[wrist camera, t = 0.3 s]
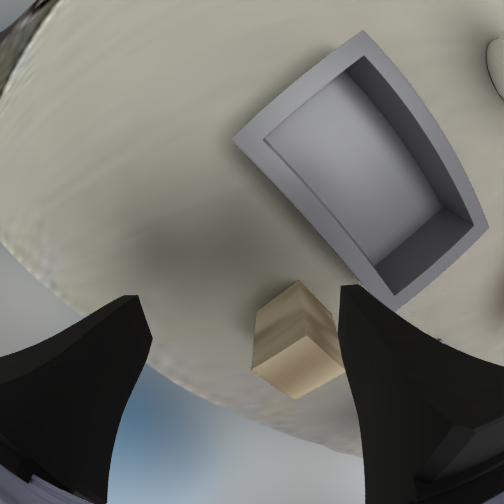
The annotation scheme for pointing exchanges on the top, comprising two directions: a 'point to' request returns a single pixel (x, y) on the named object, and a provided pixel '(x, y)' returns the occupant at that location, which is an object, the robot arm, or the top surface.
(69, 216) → the top surface
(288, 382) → the birch block
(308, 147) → the grey rectangular open box
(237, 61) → the top surface
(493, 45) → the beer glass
